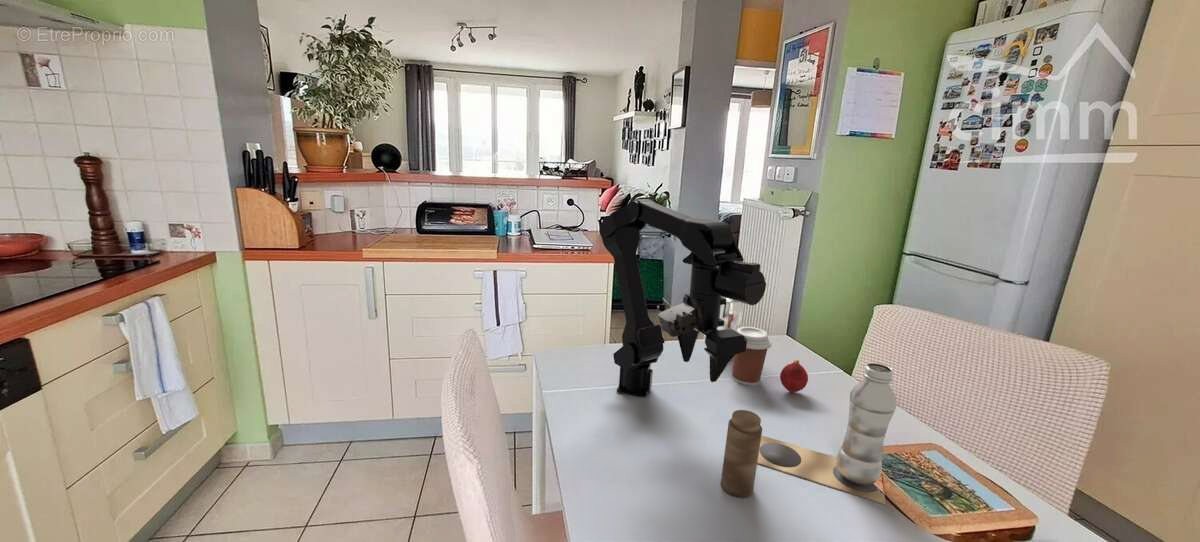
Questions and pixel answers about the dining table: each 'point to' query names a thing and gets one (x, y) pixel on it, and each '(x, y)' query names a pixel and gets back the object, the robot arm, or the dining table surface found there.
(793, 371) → the onion
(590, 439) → the dining table surface
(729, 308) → the white pump bottle
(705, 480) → the dining table surface
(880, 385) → the plastic bottle
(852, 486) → the board
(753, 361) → the coffee cup
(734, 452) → the pepper mill
